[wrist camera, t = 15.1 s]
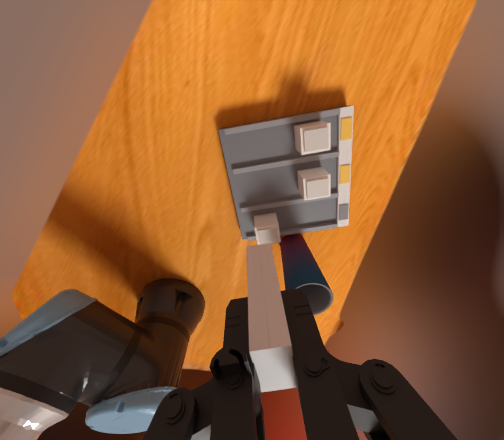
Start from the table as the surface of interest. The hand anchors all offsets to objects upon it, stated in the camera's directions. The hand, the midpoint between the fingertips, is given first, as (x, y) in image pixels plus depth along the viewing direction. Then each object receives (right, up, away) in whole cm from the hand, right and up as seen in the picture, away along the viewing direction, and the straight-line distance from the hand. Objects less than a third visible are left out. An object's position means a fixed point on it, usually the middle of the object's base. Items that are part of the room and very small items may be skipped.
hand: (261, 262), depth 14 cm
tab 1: (+2, +2, +27) cm, 27 cm away
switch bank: (+6, +10, +25) cm, 28 cm away
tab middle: (+9, +10, +23) cm, 26 cm away
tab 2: (+8, +16, +20) cm, 26 cm away
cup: (+8, -2, +32) cm, 33 cm away
